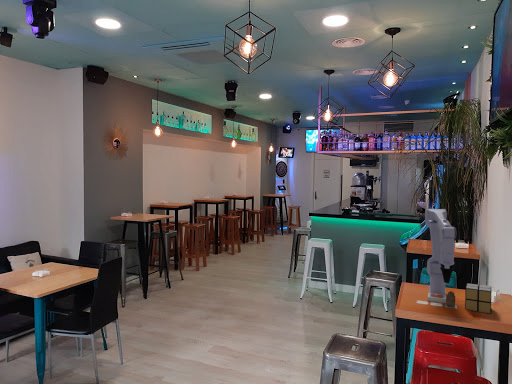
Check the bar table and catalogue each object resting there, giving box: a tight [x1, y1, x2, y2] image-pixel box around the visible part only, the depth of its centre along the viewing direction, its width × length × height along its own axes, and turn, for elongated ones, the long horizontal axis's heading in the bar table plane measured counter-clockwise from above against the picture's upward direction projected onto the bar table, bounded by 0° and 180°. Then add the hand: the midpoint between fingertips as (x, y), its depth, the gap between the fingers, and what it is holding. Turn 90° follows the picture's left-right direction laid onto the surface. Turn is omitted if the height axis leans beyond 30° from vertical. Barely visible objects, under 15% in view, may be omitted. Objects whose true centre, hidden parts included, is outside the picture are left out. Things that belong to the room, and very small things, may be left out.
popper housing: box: [426, 292, 447, 304], centre depth 187 cm, size 8×8×2 cm
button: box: [431, 293, 443, 298], centre depth 187 cm, size 5×5×3 cm
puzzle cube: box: [464, 283, 493, 314], centre depth 176 cm, size 10×10×10 cm
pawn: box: [446, 291, 456, 308], centre depth 177 cm, size 3×3×7 cm
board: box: [416, 299, 458, 309], centre depth 180 cm, size 6×18×1 cm, turn 64°
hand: (446, 280), depth 184 cm, fingers open, 7 cm apart
